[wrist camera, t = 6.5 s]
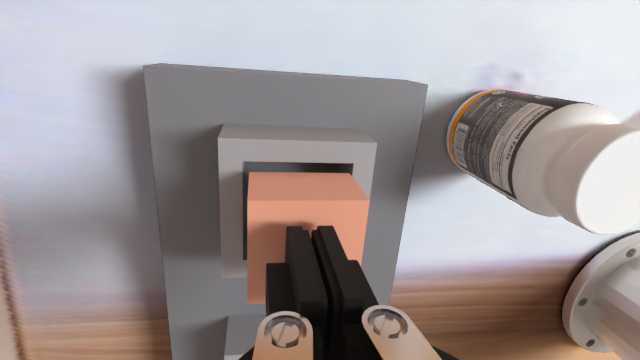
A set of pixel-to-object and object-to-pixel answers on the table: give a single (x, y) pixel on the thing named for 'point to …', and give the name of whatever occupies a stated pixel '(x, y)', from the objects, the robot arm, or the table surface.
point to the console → (265, 156)
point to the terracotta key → (299, 217)
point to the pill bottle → (551, 157)
